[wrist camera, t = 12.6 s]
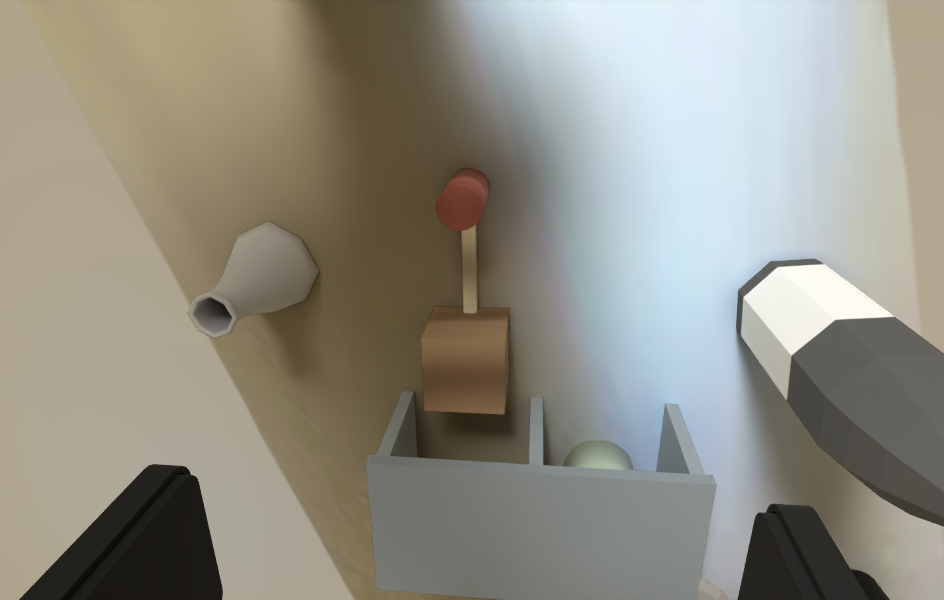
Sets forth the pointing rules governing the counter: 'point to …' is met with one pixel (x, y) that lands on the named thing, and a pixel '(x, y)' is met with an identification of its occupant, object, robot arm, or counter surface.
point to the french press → (709, 591)
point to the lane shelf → (538, 521)
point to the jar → (598, 456)
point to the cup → (869, 586)
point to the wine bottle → (852, 379)
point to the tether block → (465, 320)
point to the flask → (256, 280)
